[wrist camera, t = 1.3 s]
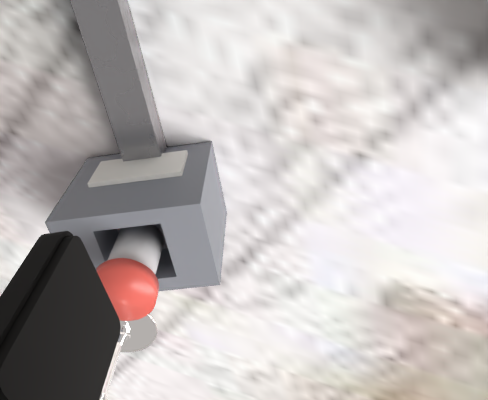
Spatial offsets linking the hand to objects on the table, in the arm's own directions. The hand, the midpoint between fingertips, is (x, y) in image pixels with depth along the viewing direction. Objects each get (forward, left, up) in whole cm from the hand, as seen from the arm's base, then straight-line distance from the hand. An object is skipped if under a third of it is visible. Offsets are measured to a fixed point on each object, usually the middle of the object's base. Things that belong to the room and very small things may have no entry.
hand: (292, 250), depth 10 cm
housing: (+10, -9, -21) cm, 25 cm away
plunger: (+10, -9, -15) cm, 20 cm away
